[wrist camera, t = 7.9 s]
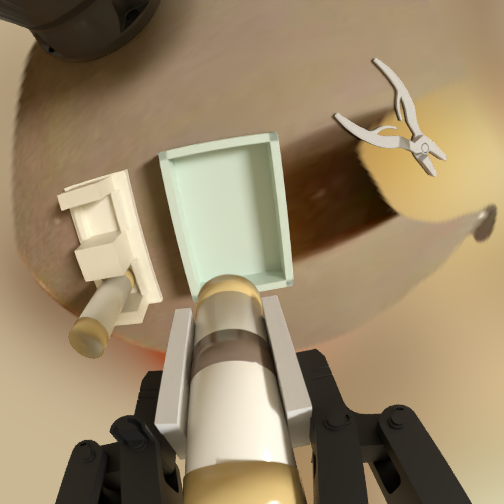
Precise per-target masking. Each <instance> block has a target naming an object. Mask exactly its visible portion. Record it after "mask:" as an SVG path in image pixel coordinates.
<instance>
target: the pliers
mask: <svg viewBox="0 0 504 504" xmlns="http://www.w3.org/2000/svg"><path fill="white" fill-rule="evenodd" d="M373 62H374V63H375V64H376V65H377V66H378V67H379V68H380V69H381V70H382V72H383V73H384V74H385V75H386V76H387V77H388V79H389V80H390V82H391V83H392V84H393V86H394V87H395V89H396V100H395V104H396V111H397V112H396V113H395V114H396V117H397V120H398V121H402V117H401V114H400V109H399V101H400V98H401V100H402V103H403V106H404V107H403V108H402V109H403V114H404V119H405V123H406V124H407V126H408V128H409V129H410V131H411V133H412V136H411V140H408V139H406V138H403V137H401V136H380V135H377V133H378V132H379V131H381V130H383V129H386V128H391V129H397V127H394V126H379V127H378V128H376V129H374V130H373V131H367V130H365V129H363V128H361V127H359V126H357V125H356V124H354V123H352V122H351V121H349V120H347V119H346V118H344V117H343V116H341V115H340V114H338V113H336V114H335V115H334V117H335V118H336V119H337V120H338V121H339V122H340V123H341V124H342V125H343V126H344V127H345V128H346V129H347V130H348V131H350V132H351V133H352V134H354V135H355V136H357V137H358V138H360V139H362V140H363V141H365V142H367V143H369V144H372V145H375V146H378V147H383V148H404V149H406V150H408V151H410V152H411V153H412V155H413V157H414V158H415V159H416V161H417V162H418V163H419V165H420V166H421V167H422V168H423V169H424V171H425V172H426V173H427V174H428V175H431V176H433V177H435V176H436V175H437V173H436V171H435V169H434V167H433V165H432V163H431V161H430V159H429V157H428V155H426V154H427V153H430V154H432V155H433V156H435V157H436V158H438V159H440V160H444V161H446V158H447V157H446V155H445V154H444V153H443V152H442V151H441V150H440V149H439V148H438V147H437V145H436V144H435V143H434V142H433V141H432V140H430V139H429V138H427V137H426V136H424V135H423V134H422V132H421V130H420V129H419V126H418V123H417V120H416V113H415V108H414V105H413V102H412V99H411V97H410V95H409V93H408V91H407V89H406V88H405V86H404V85H403V83H402V82H401V80H400V79H399V78H398V77H397V75H396V74H395V73H394V72H393V71H392V70H391V69H390V68H389V67H388V66H386V65H385V64H384V63H382V62H381V61H380V60H378V59H377V58H374V59H373Z"/></svg>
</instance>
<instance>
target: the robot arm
mask: <svg viewBox="0 0 504 504" xmlns="http://www.w3.org/2000/svg"><path fill="white" fill-rule="evenodd" d="M159 2H160V0H0V19H1V20H4V21H7V22H11V23H14V24H17V25H19V26H22V27H25V28H28V29H29V30H30V31H31V32H32V34H33V36H34V37H35V38H36V40H37V41H38V43H39V44H40V46H41V47H42V48H43V49H44V50H45V51H46V52H47V53H49V54H50V55H52V56H54V57H56V58H59V59H62V60H65V61H70V62H85V61H90V60H94V59H97V58H100V57H103V56H105V55H107V54H109V53H111V52H113V51H115V50H117V49H118V48H120V47H122V46H123V45H124V44H126V43H127V42H129V41H130V40H131V39H132V38H133V37H135V36H136V35H137V34H138V33H139V32H140V31H141V30H142V29H143V28H144V27H145V25H146V24H147V23H148V22H149V20H150V19H151V18H152V16H153V15H154V13H155V11H156V9H157V7H158V5H159ZM261 301H262V309H263V317H264V322H265V327H266V331H267V336H268V340H269V345H270V348H271V353H272V357H273V362H274V366H275V371H276V375H277V380H278V385H279V390H280V394H281V399H282V403H283V408H284V412H285V417H286V421H287V425H288V430H289V434H290V439H291V443H292V448H296V447H301V446H306V445H310V442H311V446H312V449H313V452H312V461H311V462H312V463H313V489H314V490H313V492H314V504H368V497H367V489H366V482H365V474H364V467H363V463H365V462H367V463H368V464H369V466H370V468H371V470H372V472H373V474H374V476H375V478H376V480H377V483H378V485H379V487H380V489H381V491H382V493H383V495H384V497H385V499H386V502H387V504H472V503H471V501H470V500H469V498H468V496H467V494H466V493H465V491H464V490H463V488H462V486H461V484H460V483H459V481H458V480H457V478H456V476H455V475H454V473H453V471H452V470H451V468H450V466H449V465H448V463H447V462H446V460H445V459H444V457H443V456H442V454H441V452H440V451H439V449H438V447H437V446H436V445H435V443H434V441H433V440H432V438H431V437H430V435H429V434H428V432H427V431H426V429H425V427H424V426H423V425H422V423H421V422H420V420H419V419H418V417H417V415H416V414H415V412H414V411H413V410H412V409H410V408H409V407H407V406H405V405H393V406H389V407H388V408H386V409H385V410H384V411H383V412H382V413H381V414H359V413H356V412H353V411H352V410H350V409H349V408H348V407H347V406H346V405H345V403H344V402H343V399H342V397H341V394H340V392H339V390H338V387H337V385H336V382H335V380H334V377H333V375H332V372H331V370H330V368H329V366H328V363H327V361H326V358H325V356H324V355H322V354H321V352H319V351H318V350H317V349H313V350H308V351H303V352H297V353H295V350H294V347H293V344H292V341H291V338H290V334H289V331H288V328H287V325H286V322H285V319H284V316H283V312H282V309H281V306H280V303H279V300H278V297H277V295H275V296H269V297H262V298H261ZM194 335H195V321H194V318H193V314H192V311H191V308H185V309H176V310H175V315H174V319H173V324H172V329H171V333H170V338H169V343H168V348H167V353H166V358H165V364H164V369H163V371H148V373H147V374H146V376H145V377H144V378H143V380H142V383H141V387H140V392H139V396H138V400H137V405H136V409H135V414H134V415H127V416H123V417H120V418H119V419H117V420H116V421H115V422H114V423H113V424H112V426H111V429H110V433H111V434H112V435H113V437H115V439H116V440H117V441H118V442H115V443H111V444H106V445H102V446H100V445H99V444H98V443H96V442H95V441H92V440H84V441H82V442H79V443H78V444H77V445H76V446H75V448H74V449H73V451H72V454H71V457H70V459H69V462H68V465H67V468H66V471H65V474H64V477H63V480H62V483H61V487H60V490H59V493H58V496H57V499H56V503H55V504H183V489H182V484H181V478H180V472H179V468H178V466H177V464H176V463H175V459H176V454H177V456H178V457H179V458H180V459H186V440H187V422H188V406H189V392H190V389H189V385H190V373H191V362H192V353H193V345H194Z"/></svg>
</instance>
